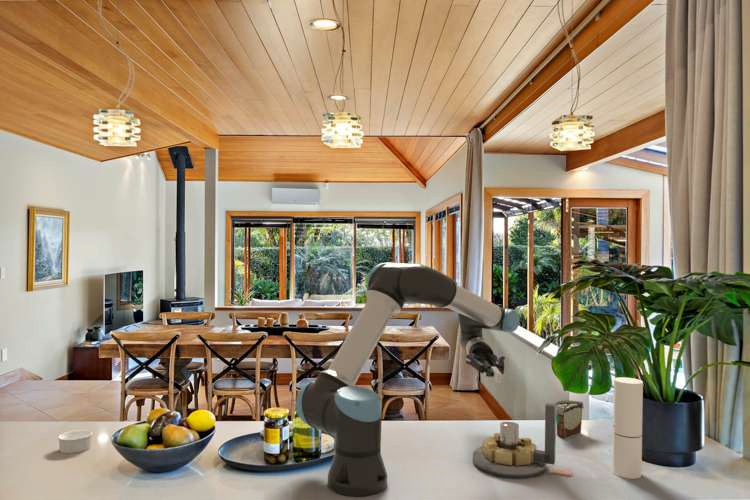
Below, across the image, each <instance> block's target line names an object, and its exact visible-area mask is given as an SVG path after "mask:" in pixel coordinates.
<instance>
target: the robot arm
mask: <svg viewBox="0 0 750 500" xmlns="http://www.w3.org/2000/svg"><path fill="white" fill-rule="evenodd" d="M366 283H367V284H366V285H365V288H366V293H365V296H366V300H367V301H366V302H365V304H364V306H363V307H362V310H361V312H360V313H359V315H358V317H357V318H356V320H355V322H353V323H354V324H353V325H352V326H351V328H350V330H349V331H348V334H347V336H346V337H345V339H344V341H343V343H342V344H341V346H340V348H339V350H338V351H337V353H336V355H335V357H334V358H333V359H332V361H331V363H330V365H329V367H328V368H327V369H325V370H322V371H320V372H319V373H318V375H317V376H316V378H315V379H314V380H313V381H309V382H306V383H305V384H304V385H303V386H302V387H301V388H300V390H299V391H298V393H297V396H296V403H295V407H296V414H297V415H298V417H299V419H300V420H301V421H302V422H303V423H304V424H306V425H308V426H309V427H310V428H312V429H317V430H320V431H322V432H325V433H327V434H329V435H332V436H334V446H335V447H334V454H333V458H332V461H331V464H330V467H329V469H328V474H327V487H328V488H329V489H330V490H331V491H333V492H335V493H337V494H340V495H343V496H349V497H350V496H351V497H364V496H371V495H374V494H377V493H380V492H383V490H385V489H386V488H387V486H388V473H387V469H386V466H385V462H384V460H383V457H382V450H381V449H382V414H383V410H382V400H381V398H380V395H379V394H378V393H377V392H375V391H374V390H373V389H371V388H367V387H363V386H358V385H356V383H357V381H358V379H359V377H360V376H361V374H362V372H363V370H364V368H365V366H366V365H367V363H368V361H369V359H370V357H371V355H372V354H373V353H374V349H376V346H377V345H378V343H379V341H380V339H381V337H382V336H383V334H384V332H385V330H386V328H387V326H388V325H389V322H390V320H391V319H392V317H393V315H398V314H400V312H401V311H402V310H403V307H404V306H405V304H406V303H408V304H421V305H429V306H434V307H437V309H444V308H446V309H449V310H451V311H453V312H456V313H457V316H458V321H459V329H460V335H459V343H460V345H461V347H462V349H463V350H464V351H465V353H466V356H465V363H466V364H467V365H470V366H471V367H472V368H474V369H475V370H476V371H478V372H479V373H480V374H485V377H488V378H489V377H491V378H492V379H493V380H494V383H496V384H502V383H503V375H504V373H505V362H506V361H505V360H506V357H505V356H499V357H498V356H497V355H496V354H495V353H494V350H493V349H492V348H491V346H490V345H489V344H488V342H487V341H486V340H485V339H484V334H483V329H484V330H491V331H498V332H504V333H513V332H516V330H518V327H519V324H520V315H519V313H518V311H517V310H515V309H512V308H504V307H501V306H500V305H498V304H495V303H494V302H491V301H489V300H487V299H485V298H483V297H481V296H480V295H477V294H476V293H474V292H472V291H470V290H468V289H466V288H464V287H462V286H461V285H459V284H457V283H456V280H454V279H453V278H452V277H451V276H448V275H447V274H445V273H442V272H441V271H438V270H436V269H434V268H432V267H430V266H428V265H424V264H421V263H406V262H405V263H404V262H403V263H401V262H396V261H395V262H393V261H388V262H380V263H378V264H376V265H374V266H373V267H372V268H371V269H370V271H369V273H368V274H367V276H366Z"/></svg>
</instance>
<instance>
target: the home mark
mask: <svg viewBox="0 0 750 500" xmlns="http://www.w3.org/2000/svg"><path fill="white" fill-rule="evenodd" d="M550 473H551V474H554V475H559V476H564V477H571V476H572V474H573V472H572V471H570V470H564V469H558V468H552V469H551V471H550Z"/></svg>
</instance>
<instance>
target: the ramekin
mask: <svg viewBox="0 0 750 500" xmlns="http://www.w3.org/2000/svg"><path fill="white" fill-rule="evenodd" d="M92 436H93V431H91V430H88V429H76V430H70V431H67V432H63V433H61V434H60V435H58V437H57V439H58V445H59V451H60V452H61V453H62V454H67V455H68V454H70V455H71V454H78V453H79V454H80V453H83V452H86V451H88V450H89V449H90V448H91V446H92Z"/></svg>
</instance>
